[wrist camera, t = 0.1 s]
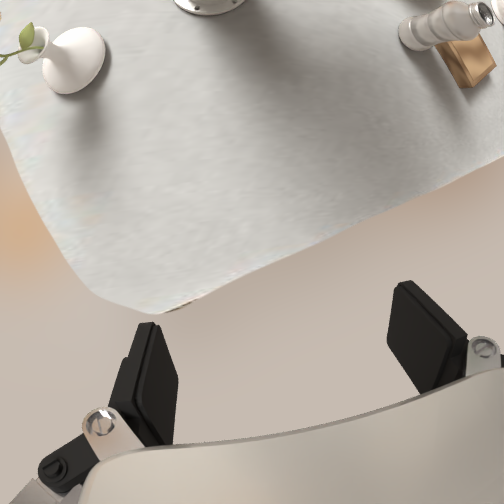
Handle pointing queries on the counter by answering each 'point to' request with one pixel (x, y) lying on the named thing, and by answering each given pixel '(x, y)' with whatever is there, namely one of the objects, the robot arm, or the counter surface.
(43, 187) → the counter surface
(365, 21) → the counter surface
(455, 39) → the plastic bottle
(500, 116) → the counter surface
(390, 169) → the counter surface
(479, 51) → the base slab
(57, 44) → the flower in vase
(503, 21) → the jar
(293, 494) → the robot arm
